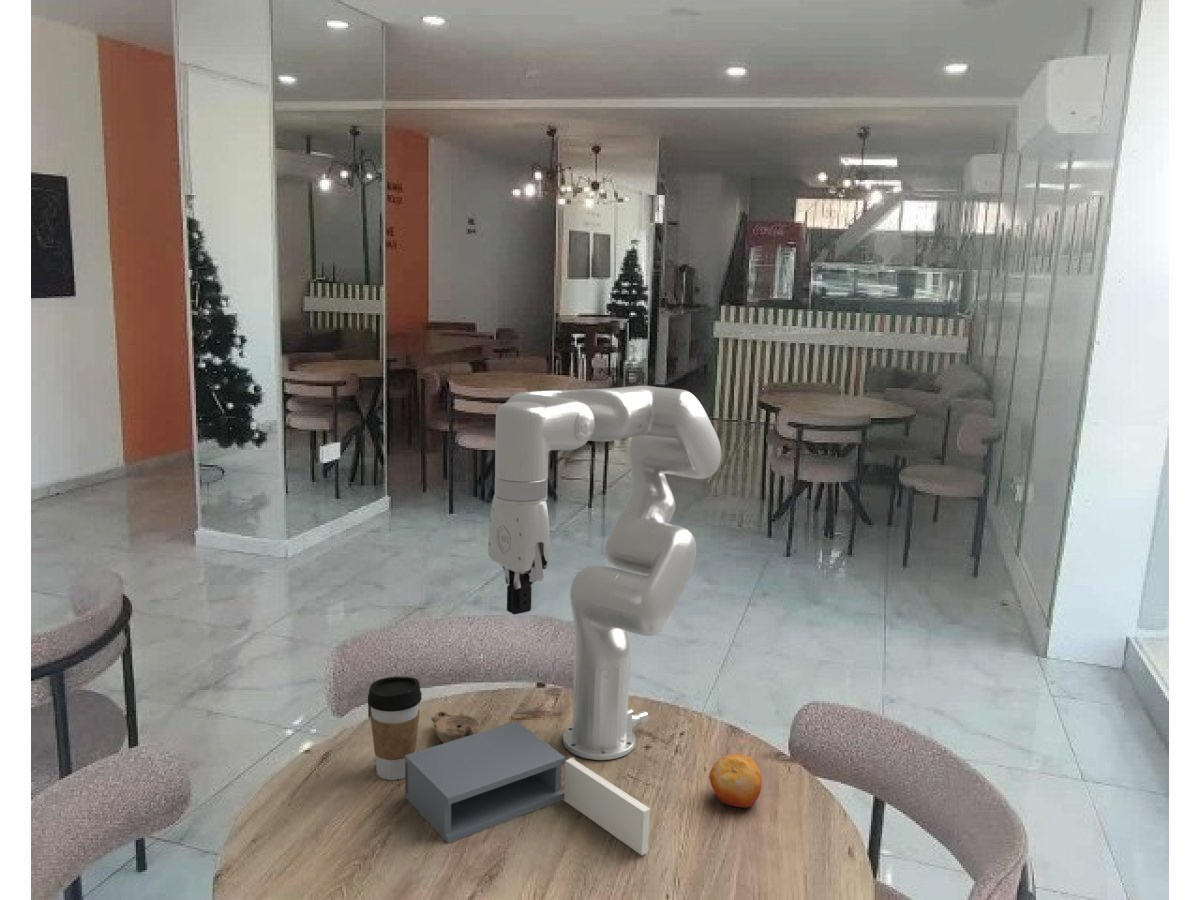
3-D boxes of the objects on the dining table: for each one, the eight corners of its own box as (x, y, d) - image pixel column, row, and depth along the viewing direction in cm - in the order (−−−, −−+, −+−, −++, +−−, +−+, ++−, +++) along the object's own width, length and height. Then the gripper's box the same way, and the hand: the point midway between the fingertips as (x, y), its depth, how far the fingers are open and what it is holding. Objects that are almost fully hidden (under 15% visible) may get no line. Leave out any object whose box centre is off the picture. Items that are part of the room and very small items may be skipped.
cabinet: (516, 759, 150) (517, 720, 149) (564, 799, 139) (565, 757, 138) (405, 797, 138) (405, 755, 137) (447, 843, 127) (448, 798, 126)
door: (562, 799, 139) (563, 759, 138) (573, 794, 140) (574, 754, 139) (641, 855, 126) (643, 811, 125) (653, 849, 127) (655, 806, 126)
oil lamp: (421, 731, 159) (421, 705, 158) (459, 720, 163) (460, 694, 162) (455, 764, 149) (456, 736, 148) (495, 751, 153) (496, 724, 152)
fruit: (770, 780, 144) (766, 752, 139) (757, 825, 139) (753, 798, 134) (721, 767, 147) (716, 740, 142) (707, 811, 142) (701, 784, 137)
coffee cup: (409, 788, 141) (408, 698, 138) (359, 780, 143) (357, 692, 140) (429, 760, 149) (429, 676, 146) (382, 754, 151) (381, 669, 148)
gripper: (472, 481, 132) (471, 600, 135) (527, 503, 120) (524, 633, 124) (516, 476, 137) (514, 592, 140) (572, 497, 125) (569, 622, 128)
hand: (518, 611), depth 132 cm, fingers closed
